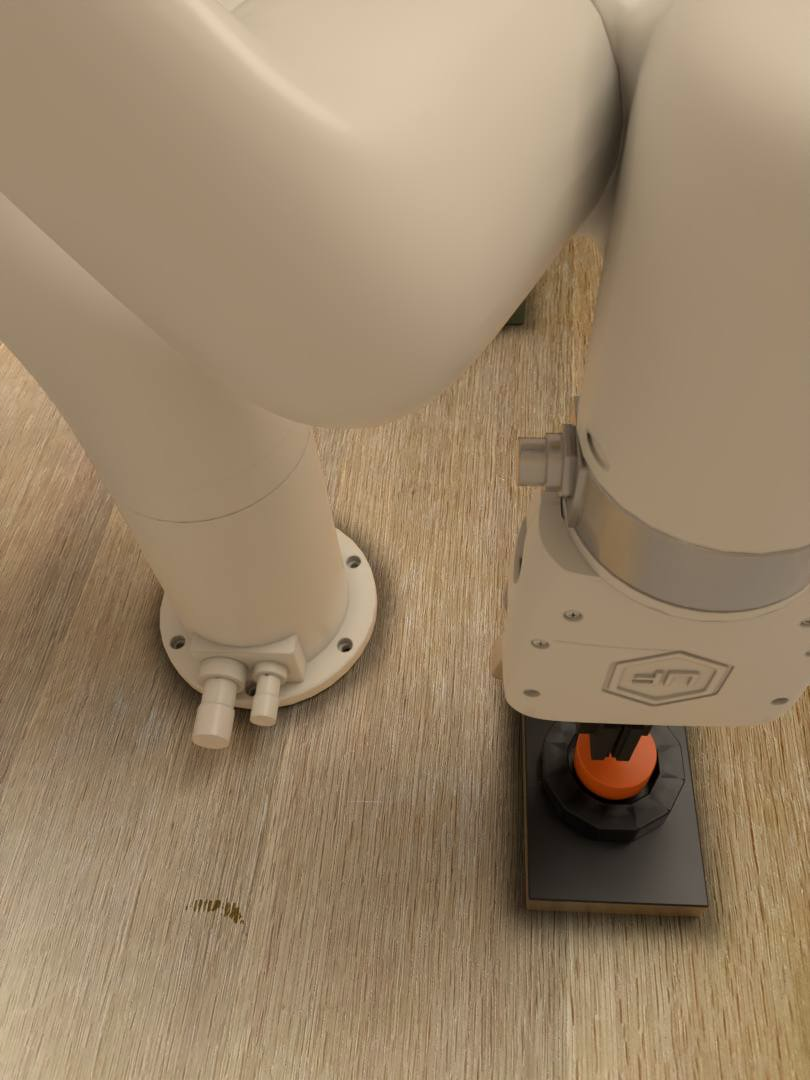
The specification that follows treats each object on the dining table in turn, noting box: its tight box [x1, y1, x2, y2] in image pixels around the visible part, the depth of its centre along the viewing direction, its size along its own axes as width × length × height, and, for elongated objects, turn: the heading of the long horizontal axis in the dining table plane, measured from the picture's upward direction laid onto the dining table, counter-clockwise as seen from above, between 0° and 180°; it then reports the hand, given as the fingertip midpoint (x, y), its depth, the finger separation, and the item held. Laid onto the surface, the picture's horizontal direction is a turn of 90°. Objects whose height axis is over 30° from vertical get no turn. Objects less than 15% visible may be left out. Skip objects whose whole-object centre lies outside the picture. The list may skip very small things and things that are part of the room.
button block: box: [521, 713, 710, 918], centre depth 43 cm, size 12×8×4 cm, turn 177°
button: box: [574, 733, 657, 800], centre depth 41 cm, size 4×4×2 cm
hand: (606, 727), depth 39 cm, fingers closed
